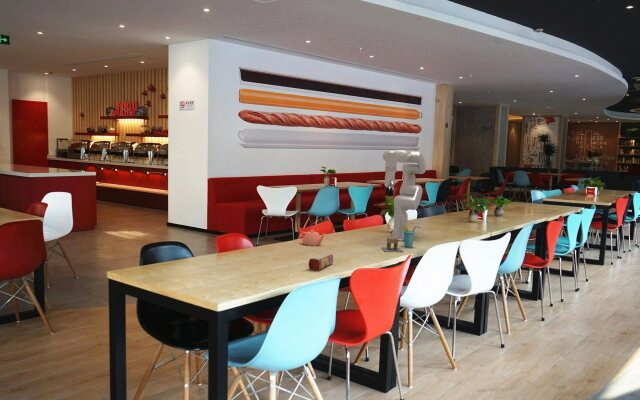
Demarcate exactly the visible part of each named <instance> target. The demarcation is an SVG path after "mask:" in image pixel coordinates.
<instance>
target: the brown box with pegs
mask: <svg viewBox="0 0 640 400" xmlns="http://www.w3.org/2000/svg"><path fill="white" fill-rule="evenodd" d="M392 244H393V248H394V249H395V250H397V248H399V247H398V246H399V245H398V244H399V241H398V239H397V238H391V237H387V238H386V248H387V249H388V250H391V248H392Z"/></svg>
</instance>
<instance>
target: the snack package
mask: <svg viewBox="0 0 640 400" xmlns="http://www.w3.org/2000/svg"><path fill="white" fill-rule="evenodd" d="M332 264H334V255H333V254H332V253H330V252H324V253H322V254H318V255H317V256H314V257H312V258H309V259H308V268H309V270H310V271H316V272H319V271H320V270H322V269H324V268H326V267H328V266H331V265H332Z"/></svg>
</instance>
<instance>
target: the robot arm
mask: <svg viewBox="0 0 640 400" xmlns="http://www.w3.org/2000/svg"><path fill="white" fill-rule="evenodd" d="M382 159H383V161H384V163H385V164H384V172H385V176H384V186H385V191H384V194H385V195H386V196H387V195H388V197H394V198H393V208H394V210H393V212H394V213H393V216H394V217H393V230H392V236H391V237H390V238H397V239H398V242H399V241H400V242H404V232H403V226H405V225H406V226H407V227H408V217H409V216H408V213H407V211H406V210H408V211H416V210H417V209H418V207H419V205H420V202H421V200H422V195H423V188H422V186H421V185H420V184H416V179H415V177H414V176H413V174H416V175H417V174H419V175H424V173H426V171H427V165H426V161H425V158H424V155H423V153H422V152H421V151H420V150H405V149H404V150H403V149H401V150H400V149H399V150H391V149H390V150H388V149H387V150H384V151H383V154H382ZM398 163H403V164H402V175H403V176H402V177H403V181H402V183H401V185H400V190H399V195H395V196H394V188H395V187H394V186H395V181H396V180H395V178H396V177H395V176H396V174H395V173H397V167H398V166H397V164H398Z"/></svg>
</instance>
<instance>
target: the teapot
mask: <svg viewBox="0 0 640 400" xmlns="http://www.w3.org/2000/svg"><path fill="white" fill-rule="evenodd" d="M300 235H301V238H302V244H303V246H308V247H318V246H320V245H321V243H322V242H323V240H324V237H325V235H326V232H323V233H322V234H321V236H320V233H319V232H317V231H315V229H311V230H310V231H307V232H306V231H301V233H300Z"/></svg>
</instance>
